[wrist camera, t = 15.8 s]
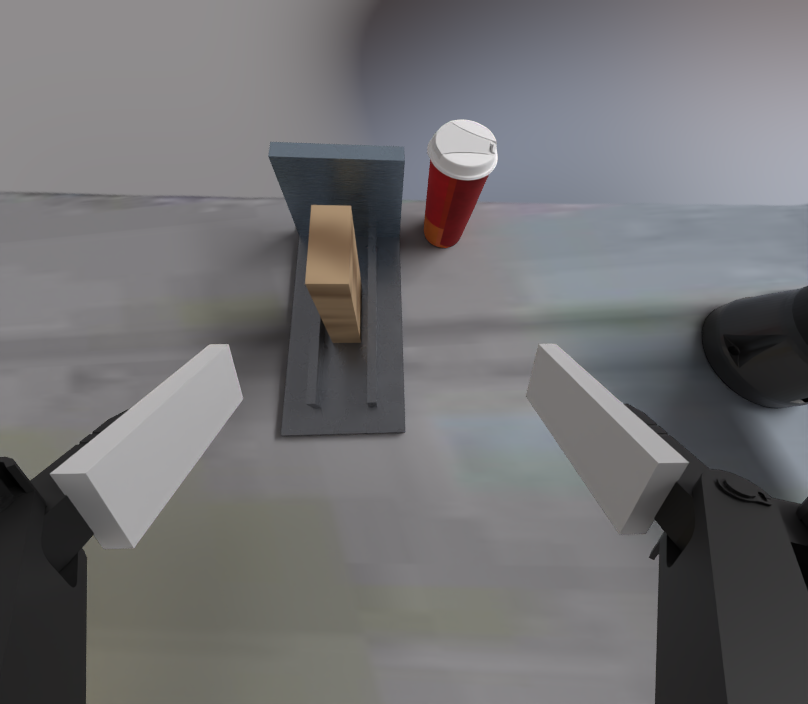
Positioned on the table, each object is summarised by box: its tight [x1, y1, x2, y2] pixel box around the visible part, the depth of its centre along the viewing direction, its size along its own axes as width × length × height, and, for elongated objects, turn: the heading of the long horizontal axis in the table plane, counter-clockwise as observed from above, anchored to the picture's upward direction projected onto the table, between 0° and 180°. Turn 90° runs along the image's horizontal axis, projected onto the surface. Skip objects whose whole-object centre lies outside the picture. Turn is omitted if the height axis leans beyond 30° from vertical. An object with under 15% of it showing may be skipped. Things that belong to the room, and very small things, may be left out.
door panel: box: [305, 205, 362, 343], centre depth 33 cm, size 8×4×14 cm, turn 2°
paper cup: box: [424, 120, 498, 248], centre depth 39 cm, size 8×8×14 cm
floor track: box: [269, 142, 405, 436], centre depth 34 cm, size 30×14×13 cm, turn 2°
